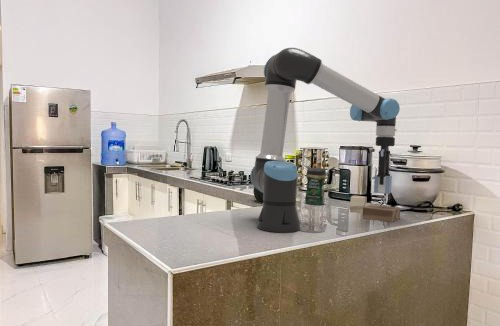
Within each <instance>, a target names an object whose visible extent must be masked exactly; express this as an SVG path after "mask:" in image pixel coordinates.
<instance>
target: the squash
mask: <svg viewBox="0 0 500 326" xmlns="http://www.w3.org/2000/svg"><path fill="white" fill-rule="evenodd" d="M253 197H254V199H255V200H256V201H258V202H260V203H263V193H262V192H260V191H258V190H257V189H256V188H255V187H254V186H253Z"/></svg>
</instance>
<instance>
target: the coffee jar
mask: <svg viewBox="0 0 500 326" xmlns="http://www.w3.org/2000/svg"><path fill="white" fill-rule="evenodd" d="M326 173H327V172H326V169H325V168H320V167H307V169H306V175H305V177H306V179H307V180H306V183H307V184H306V191H305V200H304V203H306V204H307V205H312V206H313V205H314V206H323V205H324V204H325V200H326V199H325V180H326V177H327V176H326V175H327V174H326Z"/></svg>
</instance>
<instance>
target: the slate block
mask: <svg viewBox="0 0 500 326" xmlns="http://www.w3.org/2000/svg"><path fill="white" fill-rule="evenodd" d="M377 175H378V174H376V175H374V181H373V183H374V184H373V193H375V194H380V193H379V192H378V179H379V177H377ZM385 177H386V182H385V193H382V194H383V195H384V194H385V195H389V194H391V193H392V184H393V183H392V181H393V178H392V177H393V176H392V175H390V176H385Z"/></svg>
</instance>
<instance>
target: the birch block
mask: <svg viewBox="0 0 500 326" xmlns="http://www.w3.org/2000/svg"><path fill="white" fill-rule="evenodd" d="M367 199H368V198H367V196H362V195H352V196H350V203H349V204H350V207H349V212H350V213H355V214H363V207H366V206H367V203H368V202H367Z"/></svg>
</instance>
